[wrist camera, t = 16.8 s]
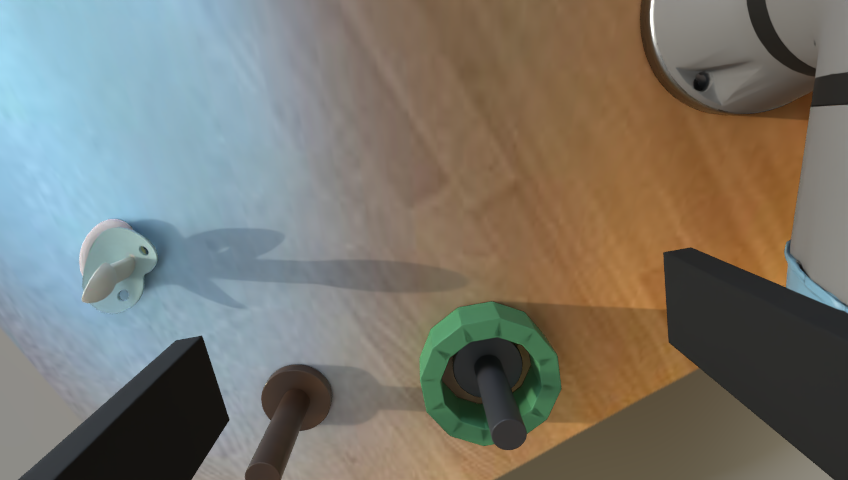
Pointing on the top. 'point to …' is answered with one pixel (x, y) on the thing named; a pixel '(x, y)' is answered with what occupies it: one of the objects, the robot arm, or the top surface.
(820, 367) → the robot arm
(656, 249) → the top surface
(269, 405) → the walnut peg
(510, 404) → the charcoal peg
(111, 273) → the pacifier
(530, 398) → the ring
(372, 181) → the top surface
